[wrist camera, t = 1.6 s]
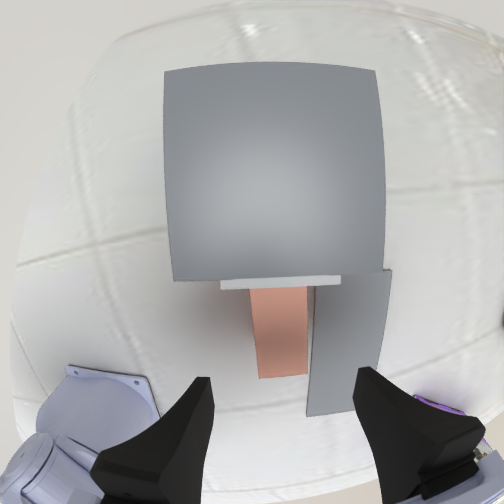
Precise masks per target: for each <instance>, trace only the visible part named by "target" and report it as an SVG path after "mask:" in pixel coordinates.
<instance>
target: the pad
mask: <svg viewBox="0 0 504 504" xmlns="http://www.w3.org/2000/svg"><path fill="white" fill-rule="evenodd" d="M391 278H392V270H383V272H380V273H365V274H350V275H341V284H335V285H319V286H315V306H314V326H313V343H312V357H311V369H310V381H309V391H308V401H307V410H306V417H312V416H320V415H328V414H335V413H342V412H348V411H353V410H355V407H354V403H353V399H352V396H353V392H354V387H355V382H356V377H357V372H358V368H361V367H367V366H370V367H371V368H373V369H374V370H375V371H376V369H377V365H378V360H379V356H380V351H381V346H382V340H383V335H384V329H385V323H386V317H387V310H388V303H389V296H390V288H391Z"/></svg>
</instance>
